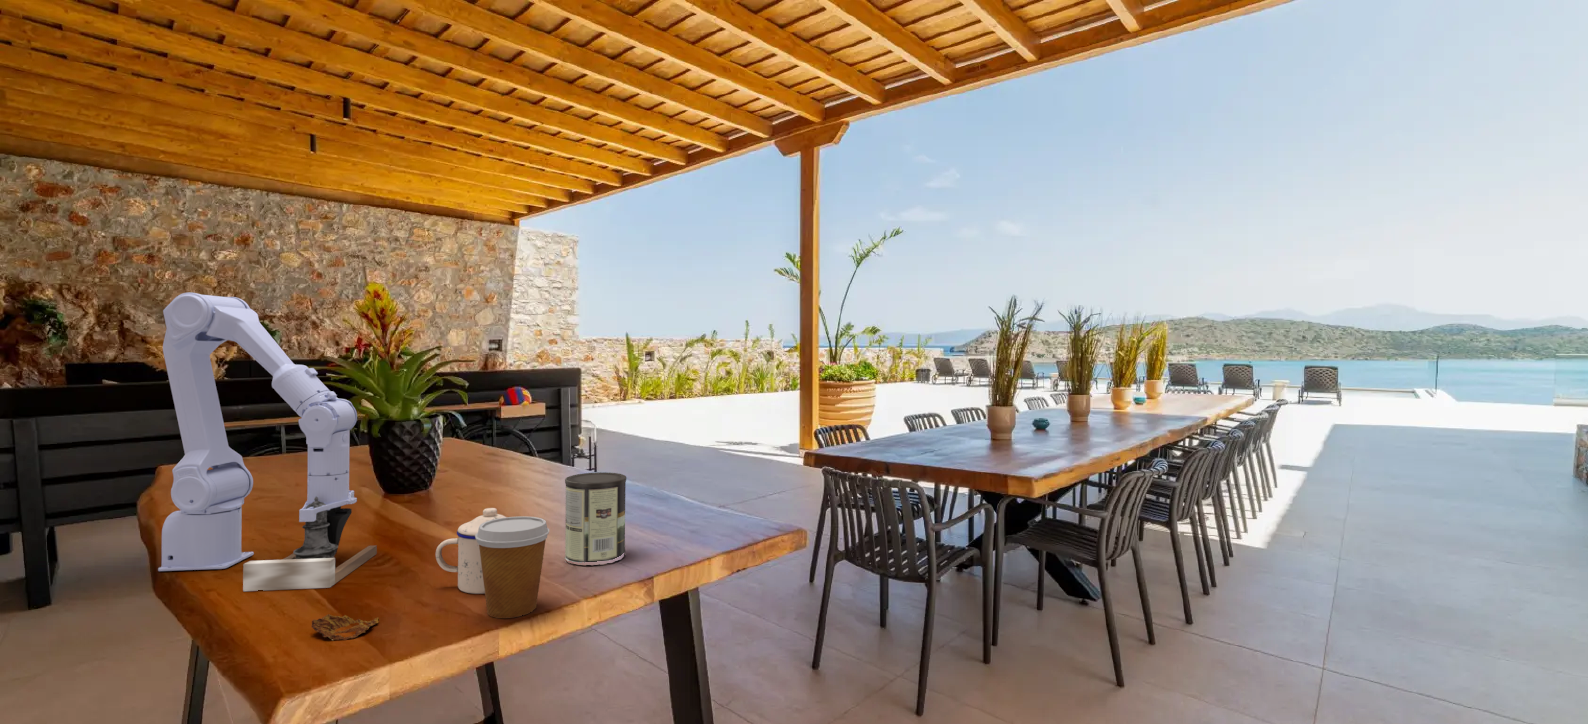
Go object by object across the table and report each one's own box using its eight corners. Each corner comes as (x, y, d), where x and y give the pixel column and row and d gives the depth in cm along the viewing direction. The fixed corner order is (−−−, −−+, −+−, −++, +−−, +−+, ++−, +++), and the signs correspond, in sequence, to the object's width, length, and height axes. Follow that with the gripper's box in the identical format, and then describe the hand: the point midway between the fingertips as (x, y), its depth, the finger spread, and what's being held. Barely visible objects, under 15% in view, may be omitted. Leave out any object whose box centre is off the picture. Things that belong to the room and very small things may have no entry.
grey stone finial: (346, 566, 111) (347, 493, 111) (318, 578, 105) (318, 501, 105) (313, 564, 111) (314, 492, 111) (283, 576, 106) (283, 499, 105)
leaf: (351, 646, 83) (354, 632, 83) (299, 637, 83) (302, 623, 83) (387, 630, 89) (389, 617, 89) (338, 621, 90) (340, 609, 90)
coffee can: (597, 545, 125) (598, 470, 125) (637, 555, 120) (638, 476, 120) (551, 559, 117) (552, 478, 116) (591, 570, 111) (593, 485, 111)
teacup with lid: (524, 573, 109) (525, 501, 109) (516, 593, 100) (517, 514, 100) (443, 578, 106) (443, 504, 106) (427, 599, 97) (428, 518, 97)
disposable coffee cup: (555, 615, 92) (556, 527, 92) (479, 629, 87) (480, 536, 87) (540, 593, 100) (541, 512, 100) (469, 605, 95) (471, 520, 95)
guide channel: (243, 591, 99) (243, 564, 99) (303, 556, 116) (303, 533, 115) (329, 587, 101) (330, 561, 101) (376, 554, 118) (376, 531, 118)
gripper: (335, 480, 106) (334, 567, 106) (373, 465, 120) (372, 541, 120) (284, 481, 104) (283, 569, 104) (328, 466, 118) (328, 543, 119)
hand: (328, 554), depth 112 cm, fingers closed
